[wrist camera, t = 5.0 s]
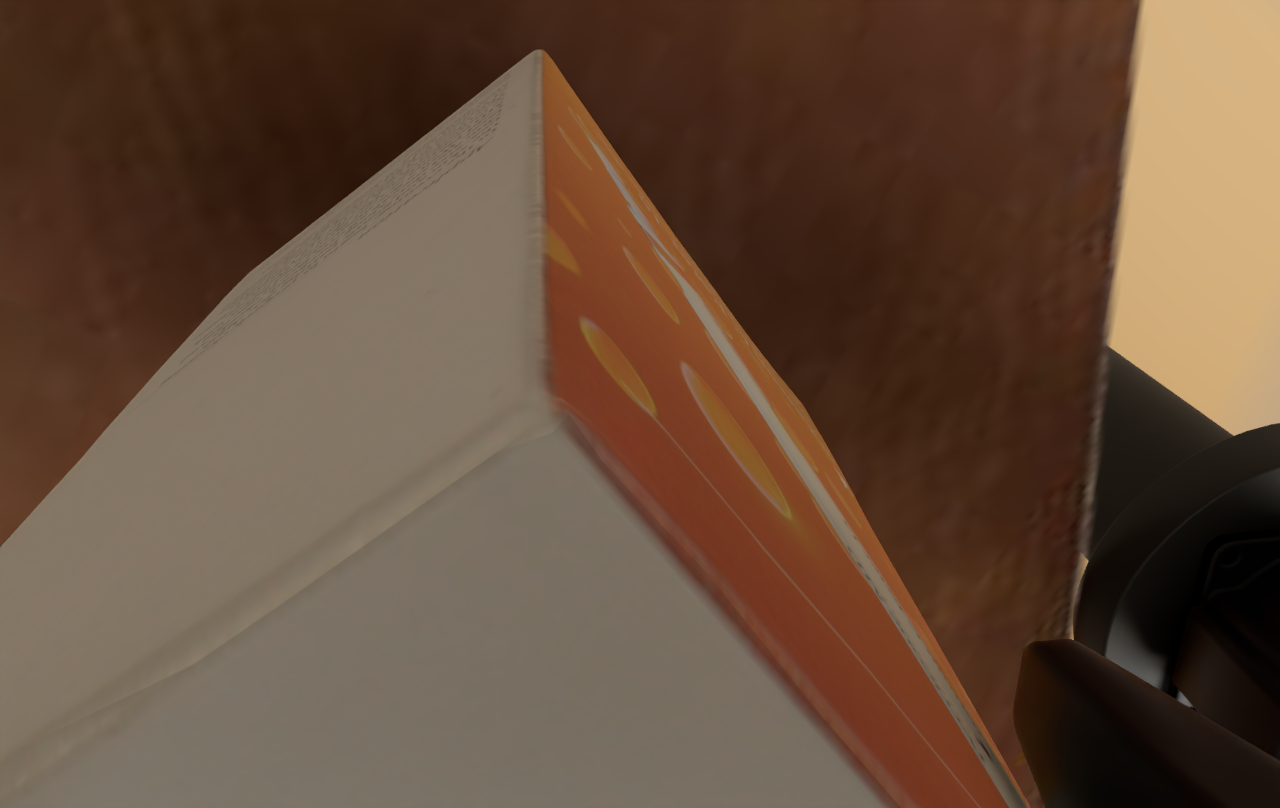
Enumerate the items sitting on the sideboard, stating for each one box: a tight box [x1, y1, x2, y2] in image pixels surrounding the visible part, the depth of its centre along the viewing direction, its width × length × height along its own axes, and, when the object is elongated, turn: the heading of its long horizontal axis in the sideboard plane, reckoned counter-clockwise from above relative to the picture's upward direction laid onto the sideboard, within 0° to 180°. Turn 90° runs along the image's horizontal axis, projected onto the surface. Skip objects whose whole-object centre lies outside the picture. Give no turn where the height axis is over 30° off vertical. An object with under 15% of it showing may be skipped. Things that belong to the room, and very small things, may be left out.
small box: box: [0, 50, 1031, 808], centre depth 11 cm, size 8×6×13 cm
